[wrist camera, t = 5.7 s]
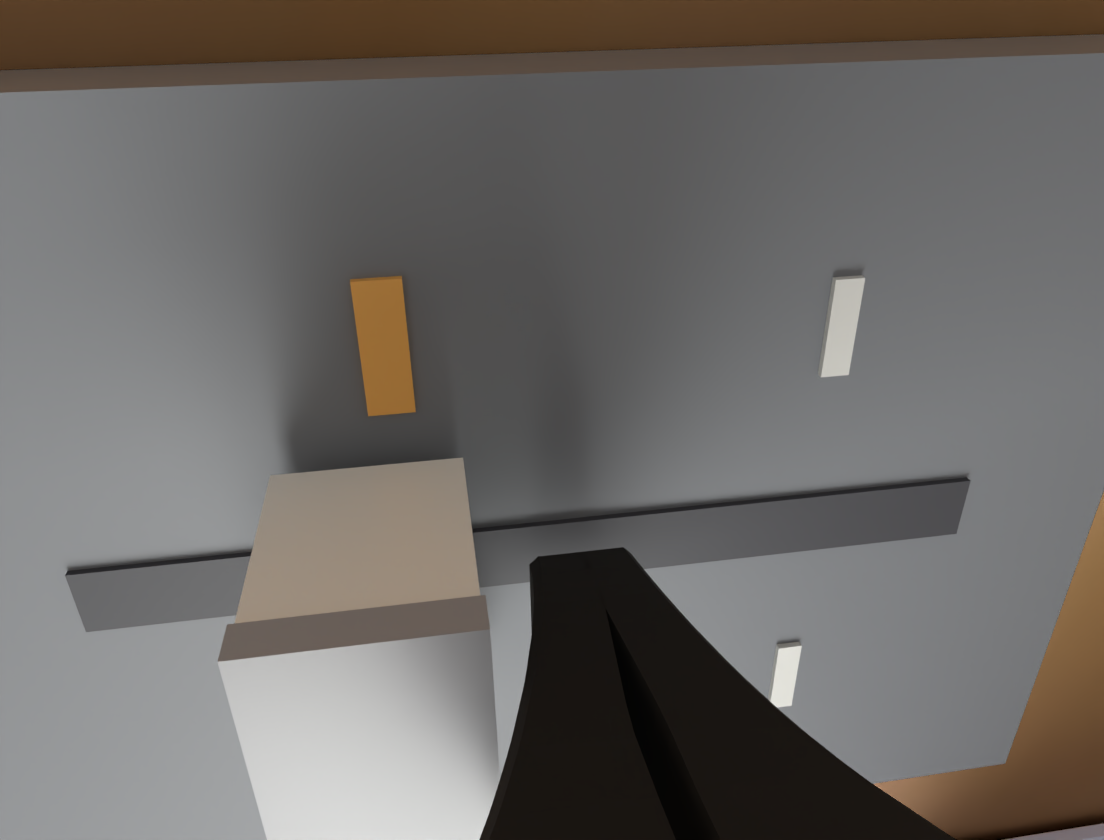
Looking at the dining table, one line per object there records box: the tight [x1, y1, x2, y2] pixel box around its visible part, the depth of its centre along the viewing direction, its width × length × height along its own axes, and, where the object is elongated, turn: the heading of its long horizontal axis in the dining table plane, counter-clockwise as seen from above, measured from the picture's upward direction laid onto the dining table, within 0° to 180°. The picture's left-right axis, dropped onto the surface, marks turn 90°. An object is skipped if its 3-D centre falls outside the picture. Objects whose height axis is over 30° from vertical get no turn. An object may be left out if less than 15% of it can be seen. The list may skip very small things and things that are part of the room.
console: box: [0, 34, 1104, 840], centre depth 13 cm, size 18×13×2 cm
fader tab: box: [218, 457, 500, 840], centre depth 10 cm, size 2×4×3 cm, turn 1°
